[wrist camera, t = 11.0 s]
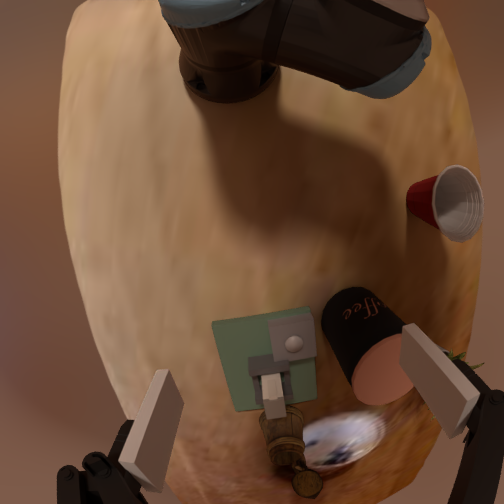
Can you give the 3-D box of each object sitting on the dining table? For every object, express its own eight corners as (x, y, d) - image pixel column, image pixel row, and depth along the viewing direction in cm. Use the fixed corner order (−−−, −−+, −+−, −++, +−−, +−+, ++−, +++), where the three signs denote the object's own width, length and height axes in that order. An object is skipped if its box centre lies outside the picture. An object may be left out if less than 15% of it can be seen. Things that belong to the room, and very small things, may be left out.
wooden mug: (286, 444, 53) (294, 506, 36) (250, 416, 51) (252, 486, 33) (319, 428, 52) (336, 490, 35) (287, 398, 50) (299, 469, 32)
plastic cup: (428, 157, 40) (472, 154, 28) (447, 213, 42) (491, 222, 30) (383, 180, 41) (424, 181, 29) (405, 239, 43) (446, 256, 31)
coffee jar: (384, 290, 45) (441, 338, 27) (364, 343, 47) (405, 404, 30) (330, 278, 44) (375, 331, 27) (311, 335, 47) (339, 405, 29)
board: (212, 321, 46) (208, 337, 40) (308, 306, 45) (315, 320, 40) (235, 406, 50) (235, 425, 45) (315, 394, 50) (321, 412, 44)
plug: (259, 360, 46) (262, 398, 36) (277, 357, 46) (283, 395, 36) (263, 380, 47) (266, 419, 37) (280, 378, 47) (286, 416, 37)
